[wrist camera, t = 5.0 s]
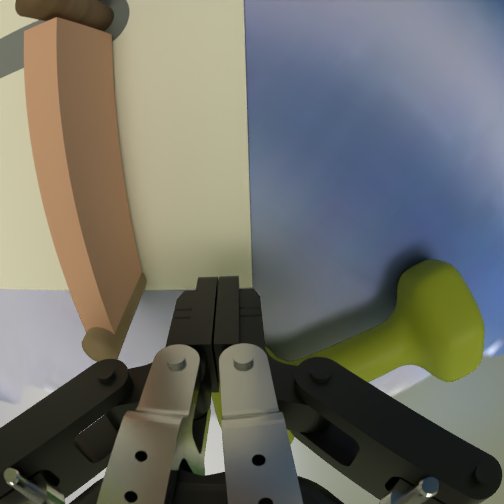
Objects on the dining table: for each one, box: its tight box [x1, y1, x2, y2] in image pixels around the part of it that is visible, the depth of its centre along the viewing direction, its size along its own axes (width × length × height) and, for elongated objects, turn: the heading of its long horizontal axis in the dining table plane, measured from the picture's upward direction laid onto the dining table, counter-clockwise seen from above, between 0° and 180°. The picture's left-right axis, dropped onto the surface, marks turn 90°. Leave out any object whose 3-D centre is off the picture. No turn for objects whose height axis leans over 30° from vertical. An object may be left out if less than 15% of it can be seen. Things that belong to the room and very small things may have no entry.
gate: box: [24, 17, 147, 362], centre depth 12 cm, size 2×14×6 cm, turn 2°
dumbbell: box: [211, 259, 485, 444], centre depth 18 cm, size 16×8×7 cm, turn 117°
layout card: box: [0, 0, 252, 290], centre depth 11 cm, size 23×31×1 cm
